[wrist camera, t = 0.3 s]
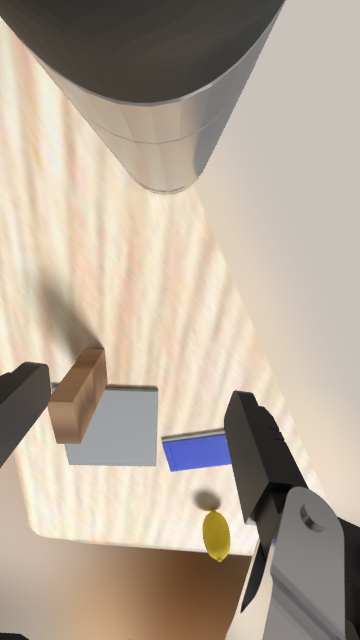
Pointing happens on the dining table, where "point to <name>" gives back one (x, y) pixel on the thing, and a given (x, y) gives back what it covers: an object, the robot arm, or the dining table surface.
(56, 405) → the brown cardboard box
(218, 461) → the hard drive
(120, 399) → the grey mat
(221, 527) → the lemon
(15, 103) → the dining table surface
